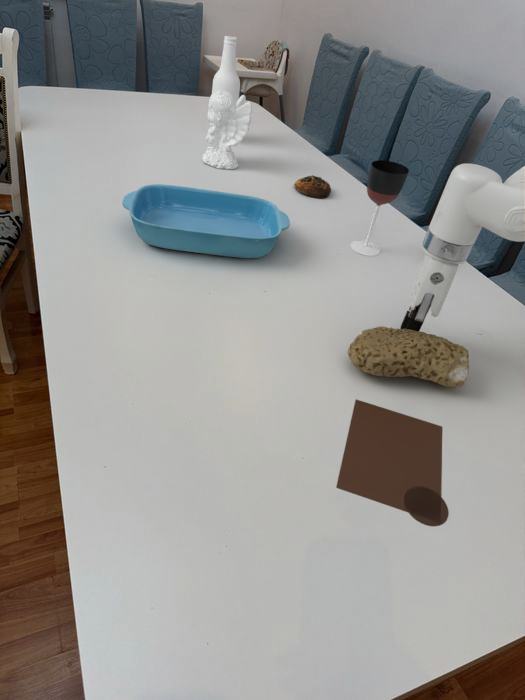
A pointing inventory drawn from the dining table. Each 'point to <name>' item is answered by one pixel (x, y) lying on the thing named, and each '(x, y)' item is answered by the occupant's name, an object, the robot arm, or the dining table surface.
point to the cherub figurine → (226, 128)
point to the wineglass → (381, 195)
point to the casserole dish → (205, 220)
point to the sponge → (410, 355)
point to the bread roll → (313, 186)
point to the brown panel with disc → (395, 462)
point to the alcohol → (227, 71)
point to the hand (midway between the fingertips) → (408, 332)
